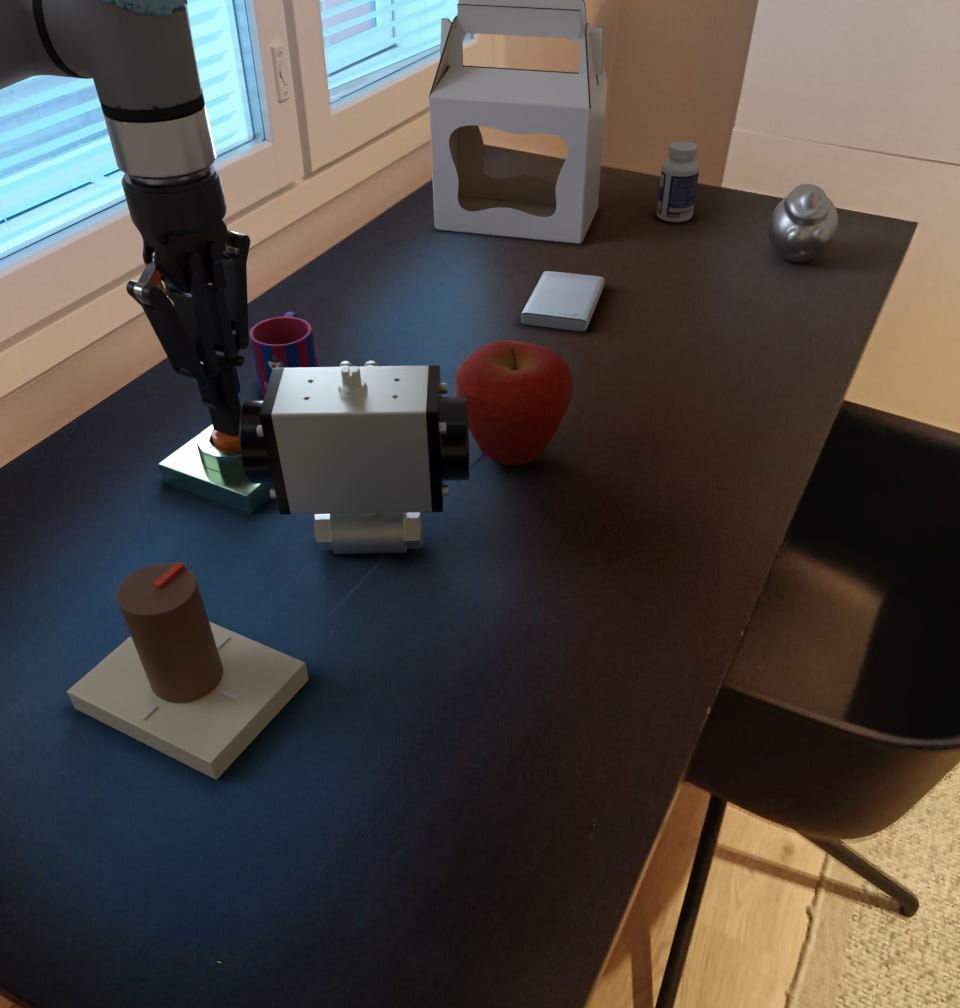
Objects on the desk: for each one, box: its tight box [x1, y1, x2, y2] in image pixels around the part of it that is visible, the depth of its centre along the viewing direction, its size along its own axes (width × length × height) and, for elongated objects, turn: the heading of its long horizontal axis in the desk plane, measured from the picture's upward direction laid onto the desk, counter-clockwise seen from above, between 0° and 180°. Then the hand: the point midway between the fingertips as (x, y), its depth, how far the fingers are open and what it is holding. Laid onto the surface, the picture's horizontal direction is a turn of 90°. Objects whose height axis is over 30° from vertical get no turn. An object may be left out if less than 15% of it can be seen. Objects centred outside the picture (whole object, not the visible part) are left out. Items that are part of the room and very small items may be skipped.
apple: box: [454, 340, 574, 467], centre depth 89 cm, size 11×11×12 cm
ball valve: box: [239, 360, 470, 555], centre depth 78 cm, size 18×8×18 cm, turn 91°
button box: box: [157, 423, 274, 515], centre depth 91 cm, size 11×10×4 cm
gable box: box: [428, 0, 609, 245], centre depth 127 cm, size 22×13×28 cm, turn 75°
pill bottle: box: [655, 140, 701, 223], centre depth 134 cm, size 5×5×10 cm
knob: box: [115, 561, 223, 703], centre depth 67 cm, size 5×5×9 cm
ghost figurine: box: [767, 183, 839, 263], centre depth 123 cm, size 9×10×10 cm
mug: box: [248, 311, 319, 398], centre depth 103 cm, size 7×10×7 cm
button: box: [211, 429, 240, 450], centre depth 90 cm, size 4×4×2 cm
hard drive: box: [520, 270, 605, 332], centre depth 117 cm, size 2×8×12 cm
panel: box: [66, 621, 310, 781], centre depth 71 cm, size 14×11×2 cm
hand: (229, 429), depth 89 cm, fingers closed
